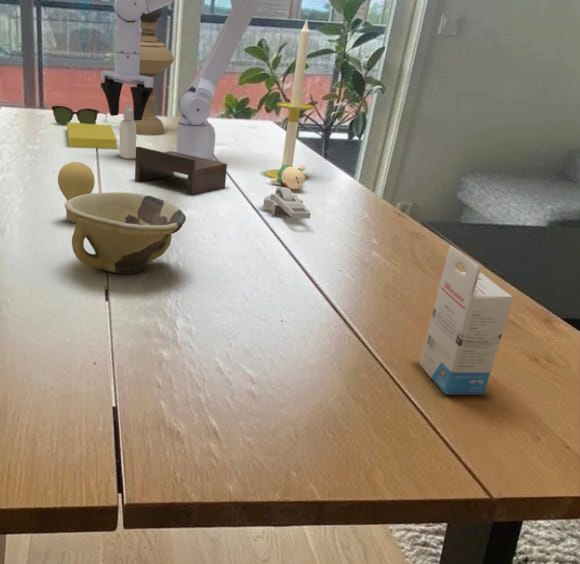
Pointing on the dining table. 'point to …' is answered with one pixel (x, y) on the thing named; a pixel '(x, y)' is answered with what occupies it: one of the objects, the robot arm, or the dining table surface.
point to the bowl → (122, 229)
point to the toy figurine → (290, 176)
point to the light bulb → (75, 181)
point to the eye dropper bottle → (127, 135)
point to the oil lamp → (151, 69)
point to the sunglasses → (83, 115)
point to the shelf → (180, 169)
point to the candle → (295, 102)
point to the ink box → (464, 328)
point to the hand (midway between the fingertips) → (125, 117)
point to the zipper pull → (285, 204)
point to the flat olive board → (90, 135)
